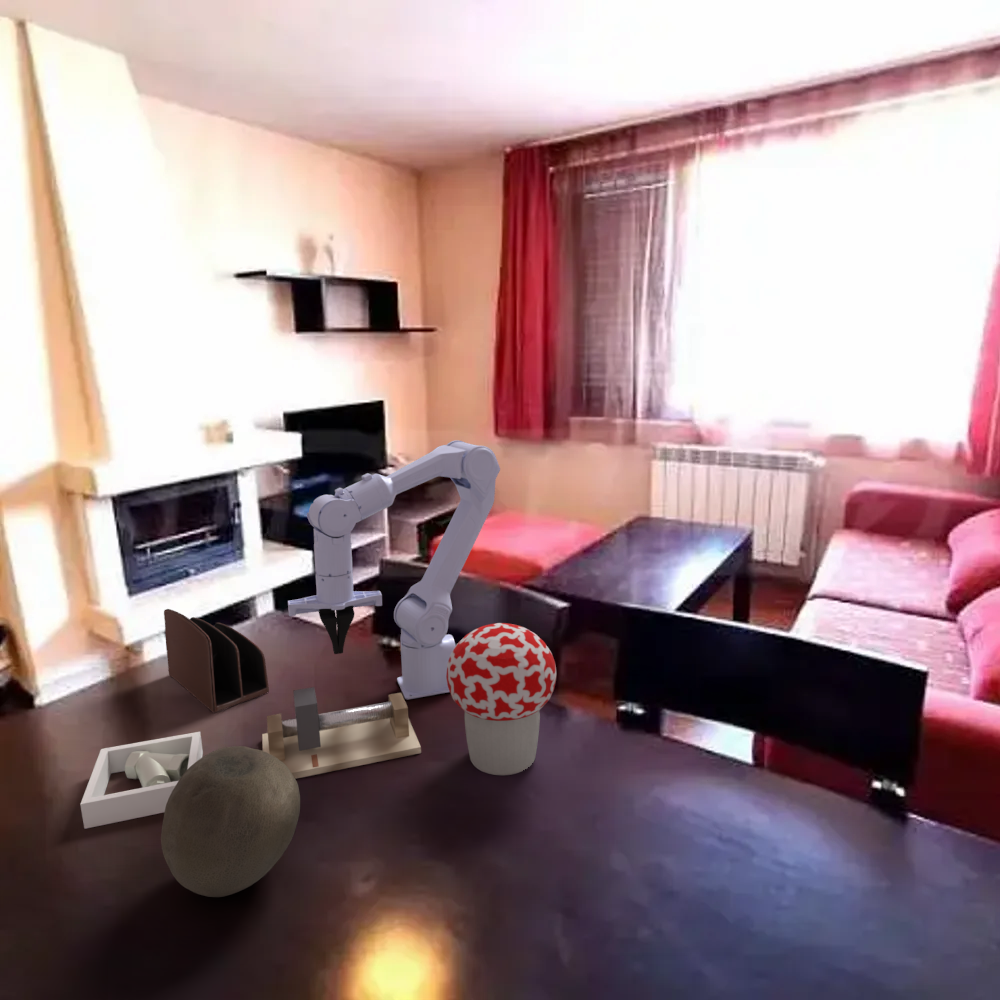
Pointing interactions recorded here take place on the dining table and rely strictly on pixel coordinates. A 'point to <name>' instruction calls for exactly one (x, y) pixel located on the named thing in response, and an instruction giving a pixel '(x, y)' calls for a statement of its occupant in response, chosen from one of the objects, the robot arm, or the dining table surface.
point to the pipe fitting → (156, 767)
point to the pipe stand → (345, 743)
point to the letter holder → (214, 661)
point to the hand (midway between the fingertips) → (338, 651)
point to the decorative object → (501, 694)
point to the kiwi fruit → (229, 820)
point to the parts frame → (134, 801)
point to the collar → (307, 718)
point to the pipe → (344, 718)
